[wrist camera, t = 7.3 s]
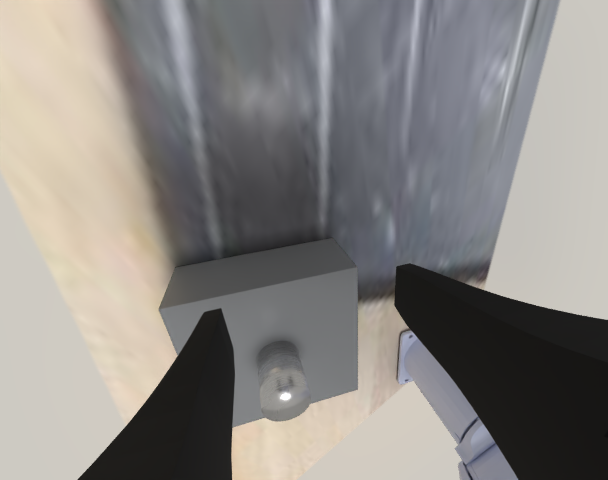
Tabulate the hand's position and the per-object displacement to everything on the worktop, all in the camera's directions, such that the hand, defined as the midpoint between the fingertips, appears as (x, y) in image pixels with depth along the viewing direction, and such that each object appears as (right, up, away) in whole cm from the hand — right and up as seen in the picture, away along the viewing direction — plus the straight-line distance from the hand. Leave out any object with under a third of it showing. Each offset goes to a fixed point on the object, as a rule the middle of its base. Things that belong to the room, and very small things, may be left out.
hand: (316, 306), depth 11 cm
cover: (-4, -4, +12) cm, 14 cm away
